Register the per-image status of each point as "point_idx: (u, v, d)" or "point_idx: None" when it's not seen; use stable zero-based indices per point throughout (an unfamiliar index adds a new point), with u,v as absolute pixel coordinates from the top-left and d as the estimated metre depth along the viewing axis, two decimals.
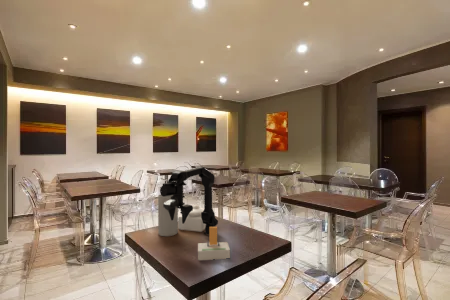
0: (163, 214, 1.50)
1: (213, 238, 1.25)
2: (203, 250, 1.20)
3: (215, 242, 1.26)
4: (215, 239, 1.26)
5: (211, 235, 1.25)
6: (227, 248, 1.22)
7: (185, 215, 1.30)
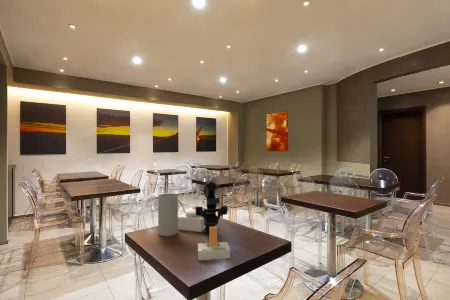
0: (163, 214, 1.50)
1: (213, 238, 1.25)
2: (203, 250, 1.20)
3: (215, 242, 1.26)
4: (215, 239, 1.26)
5: (211, 235, 1.25)
6: (227, 248, 1.22)
7: None
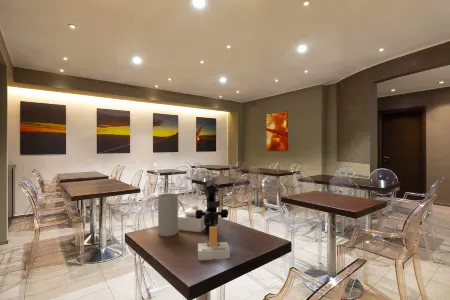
0: (163, 214, 1.50)
1: (213, 238, 1.25)
2: (203, 250, 1.20)
3: (215, 242, 1.26)
4: (215, 239, 1.26)
5: (211, 235, 1.25)
6: (227, 248, 1.22)
7: (214, 220, 1.37)
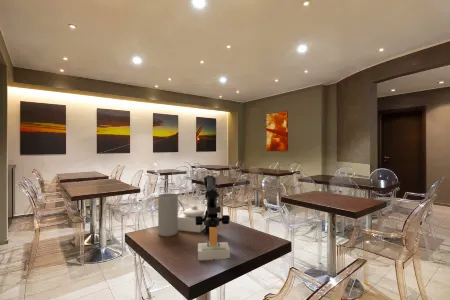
0: (163, 214, 1.50)
1: (213, 238, 1.25)
2: (203, 250, 1.20)
3: (215, 242, 1.25)
4: (215, 239, 1.25)
5: (211, 235, 1.25)
6: (227, 248, 1.22)
7: None
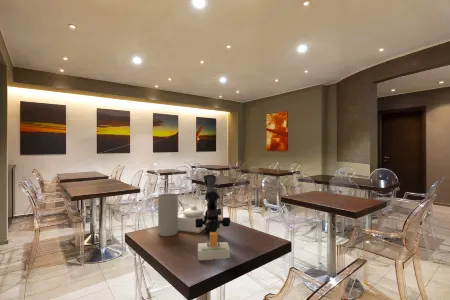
0: (163, 214, 1.50)
1: (213, 241, 1.24)
2: (203, 250, 1.20)
3: (215, 244, 1.25)
4: (215, 242, 1.24)
5: (211, 239, 1.23)
6: (227, 248, 1.22)
7: (215, 229, 1.27)
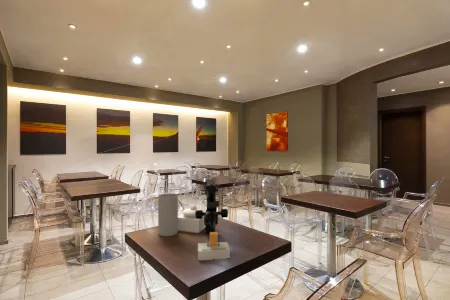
0: (163, 214, 1.50)
1: (213, 241, 1.24)
2: (203, 250, 1.20)
3: (215, 244, 1.25)
4: (215, 242, 1.24)
5: (211, 239, 1.23)
6: (227, 248, 1.22)
7: (214, 220, 1.36)
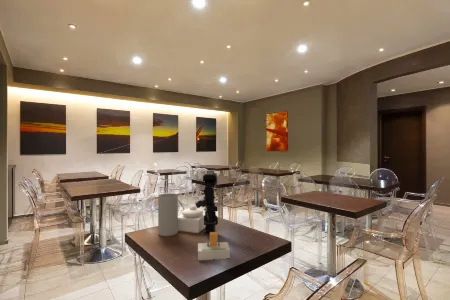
0: (163, 214, 1.50)
1: (213, 241, 1.24)
2: (203, 250, 1.20)
3: (215, 244, 1.25)
4: (215, 242, 1.24)
5: (211, 239, 1.23)
6: (227, 248, 1.22)
7: (210, 214, 1.40)
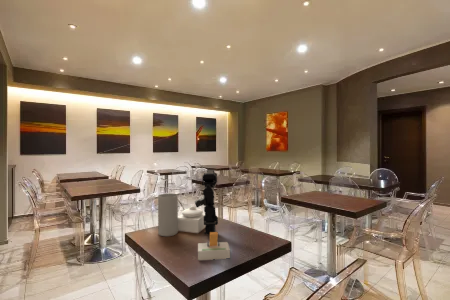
0: (163, 214, 1.50)
1: (213, 241, 1.24)
2: (203, 250, 1.20)
3: (215, 244, 1.25)
4: (215, 242, 1.24)
5: (211, 239, 1.23)
6: (227, 248, 1.22)
7: (210, 213, 1.40)
